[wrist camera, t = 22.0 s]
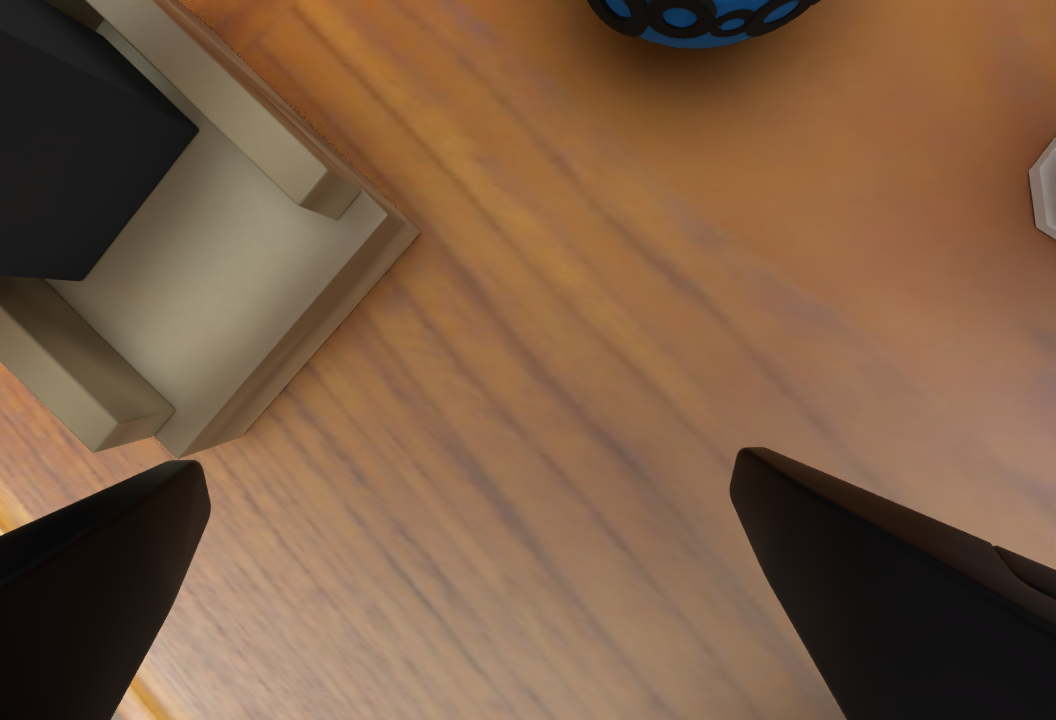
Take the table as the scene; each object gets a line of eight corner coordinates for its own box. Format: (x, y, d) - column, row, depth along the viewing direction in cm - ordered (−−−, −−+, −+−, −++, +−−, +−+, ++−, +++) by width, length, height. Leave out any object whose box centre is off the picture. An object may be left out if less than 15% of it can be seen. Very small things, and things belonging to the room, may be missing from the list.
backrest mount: (421, 232, 17) (338, 187, 11) (241, 437, 19) (82, 493, 13) (192, 11, 18) (-7, -146, 12) (29, 229, 19) (-225, 189, 13)
